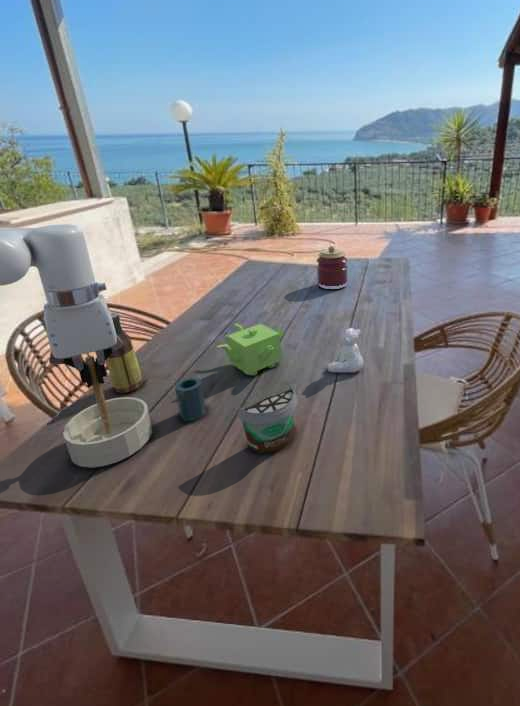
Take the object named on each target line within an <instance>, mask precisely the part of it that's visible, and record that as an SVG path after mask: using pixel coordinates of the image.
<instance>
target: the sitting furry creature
mask: <svg viewBox="0 0 520 706" xmlns="http://www.w3.org/2000/svg"><path fill="white" fill-rule="evenodd" d="M359 335H361V329H354V328H353V327H350V328H347V329H346V330H345V332H343V335H342V339H341V343H342V348H341V351H340V355H339V359H338V361H332V362H330V363H328V365H327V371H328V372H329V373H333V374H334V373H338V374H339V373H341V374H343V373H344V374H347V373H350V374H354V373H357V372H359V371H360V370H361V369H362V368H363V367H364V361H365V360H364V358H363V356H362V354H361V353H360V349H359V346H358V344H357V343H358V340H359Z"/></svg>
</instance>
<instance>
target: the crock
mask: <svg viewBox="0 0 520 706" xmlns="http://www.w3.org/2000/svg"><path fill="white" fill-rule="evenodd" d="M174 385H175V386H174V390H175V396H176V401H177V405H178V406H177V407H178V411H179V416H180V418H181V420H182V421H184V422H188V423H189V422H190V423H191V422H195V421H198V420H201V418H203V417H204V416H205V415H206V412H207V411H206V403H205V402H206V401H205V396H204V389H203V385H202V380H201V379H200V378H199V377H193V376H191V377H186V378H183V379H181V380H179V381H178V382H176V384H174Z"/></svg>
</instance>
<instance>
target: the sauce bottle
mask: <svg viewBox="0 0 520 706" xmlns="http://www.w3.org/2000/svg"><path fill="white" fill-rule="evenodd" d="M110 313H111V316H112V320H113V323H114V327H115V331H116V334H117V335H118V337H119V338H120V339H121V341H122V342H123V347H122V348H120V349H118V350H116V351H114V352H112V353H111V355H110V356H109V357H108V358H107V360H106V361H105V364H106V367H107V370H108V372H109V376H110V379H111V382H112V385H113V387H114V390H115V391H116V392H117V393H119V394H120V393H121V394H127V393H131V392H133V391H135V390H138V389H139V388H141V386H142V385H143V379H142V377H143V376H142V373H141V369H140V366H139V363H138V359H137V355H136V351H135V348H134V346H133V343H132V340H131V336H130V335H129V334H128V333H127V332H125V330H123V327H122V325H121V321H120V320H121V317H120V314H119V313H117V312H110Z"/></svg>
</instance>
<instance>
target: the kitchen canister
mask: <svg viewBox="0 0 520 706" xmlns="http://www.w3.org/2000/svg"><path fill="white" fill-rule="evenodd" d="M345 256H346V253H345V252H344V251H342V250H341V249H337V248H335V246H334V245H330V246H329V247H328V249H323V250H322V251H320V252H319V253H318V257H317V258H316V262H317V267H316V269H317V284H318V283H319V284H321V285H325V286H339V285H343V284H345V283H346V282H347V283H348V265H347V261H348V258H347V257H345Z"/></svg>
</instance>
